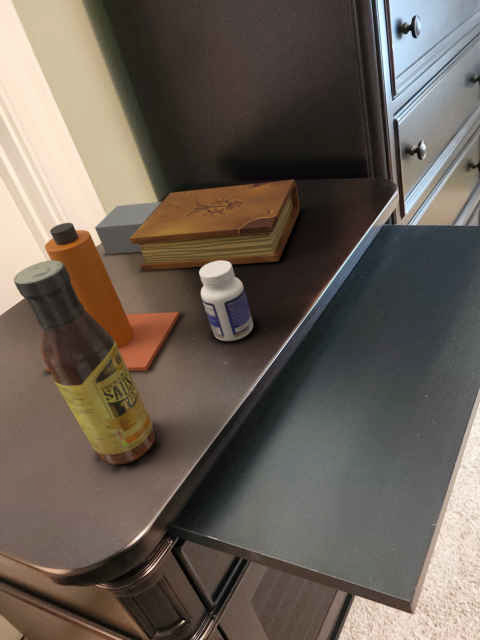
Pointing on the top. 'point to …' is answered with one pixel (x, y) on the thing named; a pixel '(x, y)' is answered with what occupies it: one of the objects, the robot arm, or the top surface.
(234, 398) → the top surface
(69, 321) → the sauce bottle
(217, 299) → the pill bottle
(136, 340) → the mat
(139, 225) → the grey stand
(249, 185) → the diary
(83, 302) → the amber bottle
